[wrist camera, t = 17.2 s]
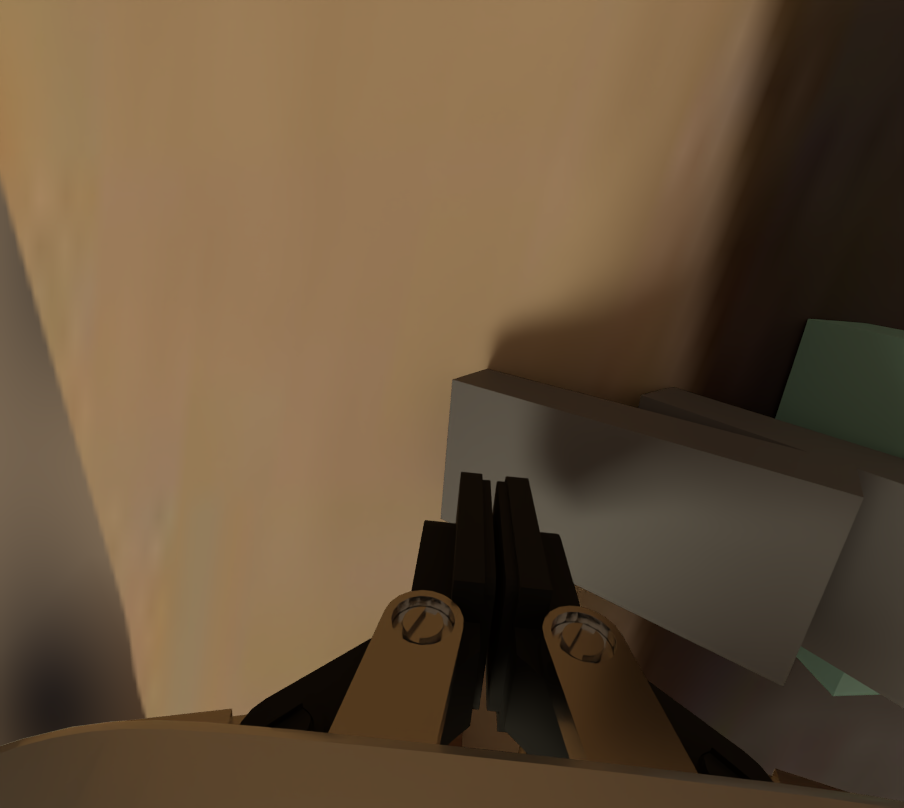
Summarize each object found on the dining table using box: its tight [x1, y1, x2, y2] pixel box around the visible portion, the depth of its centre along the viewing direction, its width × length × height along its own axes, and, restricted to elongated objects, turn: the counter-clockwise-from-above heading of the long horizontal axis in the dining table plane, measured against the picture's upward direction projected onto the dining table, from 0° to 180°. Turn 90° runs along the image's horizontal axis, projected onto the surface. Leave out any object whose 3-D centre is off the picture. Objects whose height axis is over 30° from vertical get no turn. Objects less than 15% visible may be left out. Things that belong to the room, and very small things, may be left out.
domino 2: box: [638, 387, 904, 708], centre depth 13 cm, size 5×2×10 cm
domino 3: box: [775, 319, 904, 696], centre depth 14 cm, size 5×2×10 cm
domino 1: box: [441, 369, 864, 687], centre depth 13 cm, size 5×2×10 cm
